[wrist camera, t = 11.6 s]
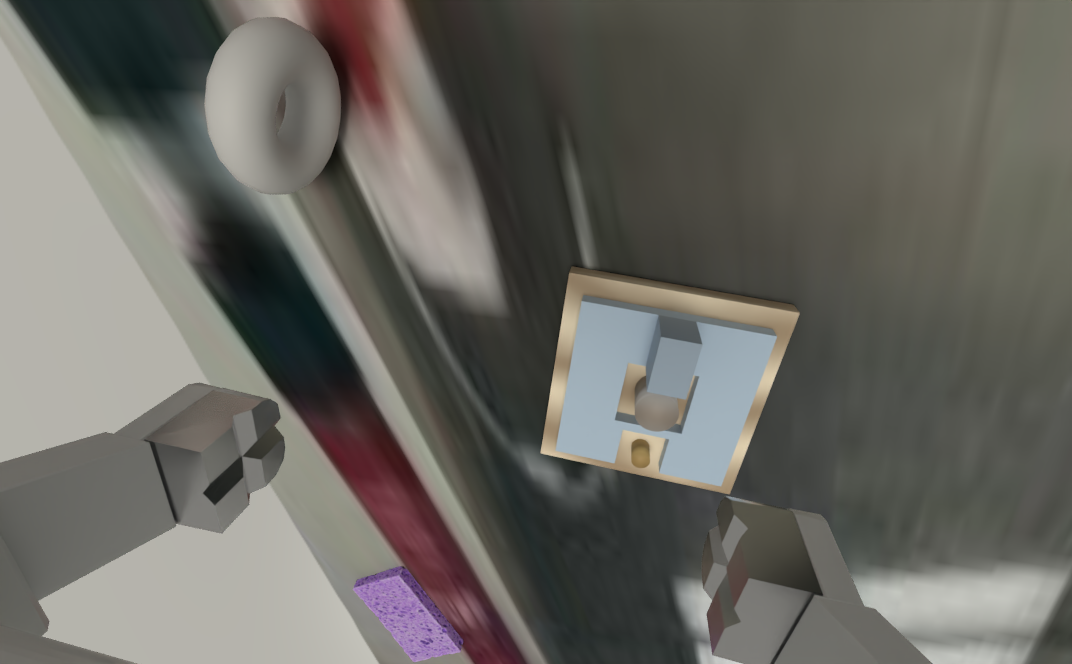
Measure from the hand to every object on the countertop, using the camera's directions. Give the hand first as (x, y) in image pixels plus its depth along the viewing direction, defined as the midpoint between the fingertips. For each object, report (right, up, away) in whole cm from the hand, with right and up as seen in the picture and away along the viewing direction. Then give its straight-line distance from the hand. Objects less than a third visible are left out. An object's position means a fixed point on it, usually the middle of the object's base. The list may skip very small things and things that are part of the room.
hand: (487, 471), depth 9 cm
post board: (+10, -1, +30) cm, 31 cm away
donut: (-14, +18, +26) cm, 34 cm away
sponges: (-13, -29, +48) cm, 57 cm away
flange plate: (+10, -2, +28) cm, 30 cm away
